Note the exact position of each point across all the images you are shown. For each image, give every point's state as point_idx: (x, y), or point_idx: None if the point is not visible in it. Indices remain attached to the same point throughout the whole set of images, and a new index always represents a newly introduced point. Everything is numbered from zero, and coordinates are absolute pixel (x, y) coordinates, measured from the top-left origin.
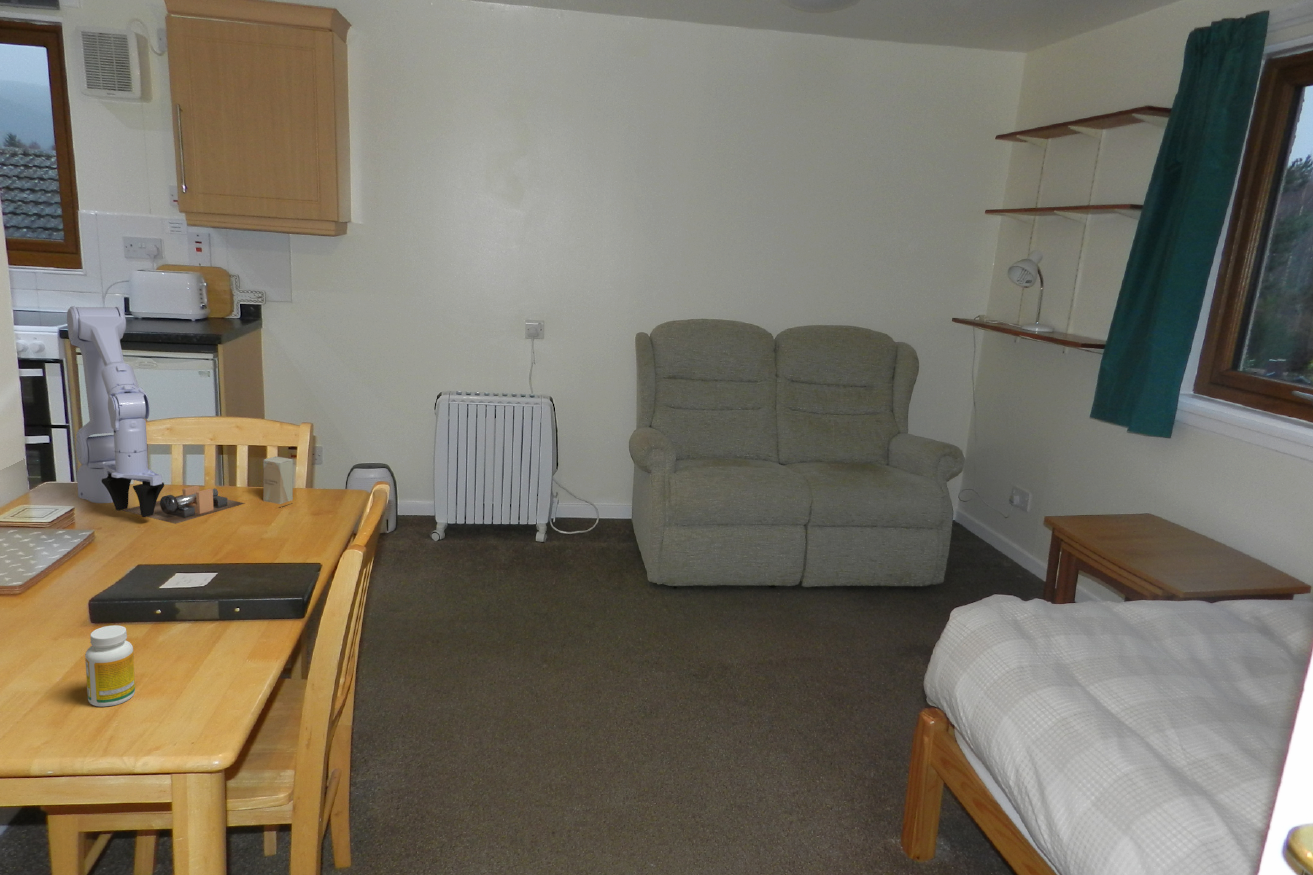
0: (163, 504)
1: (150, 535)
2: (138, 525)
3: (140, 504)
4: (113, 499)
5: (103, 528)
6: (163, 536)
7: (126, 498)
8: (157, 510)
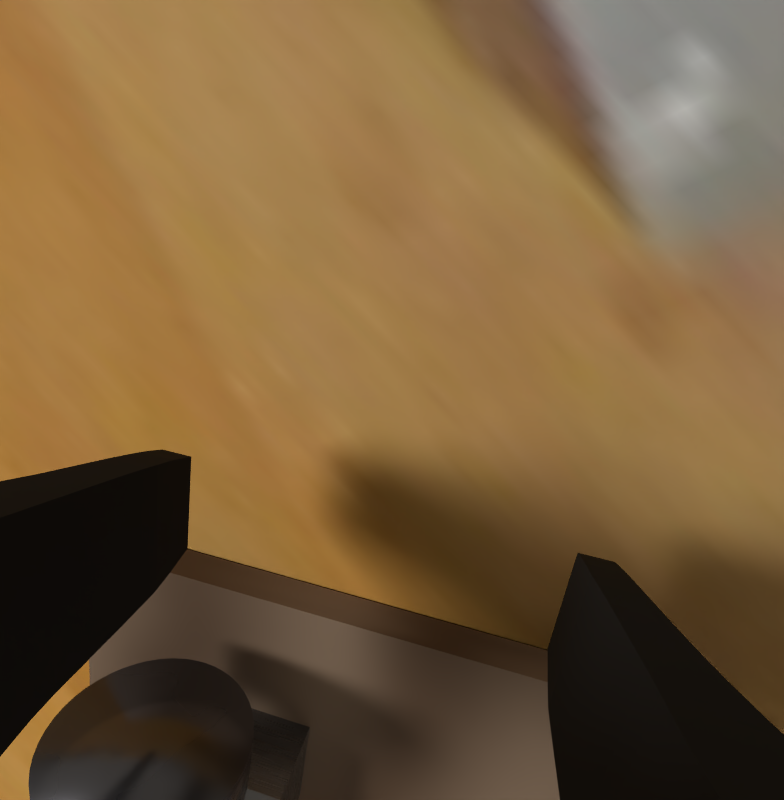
0: (197, 752)
1: (117, 325)
2: (386, 501)
3: (35, 493)
4: (667, 650)
5: (606, 326)
6: (29, 343)
7: (566, 769)
8: (449, 785)
